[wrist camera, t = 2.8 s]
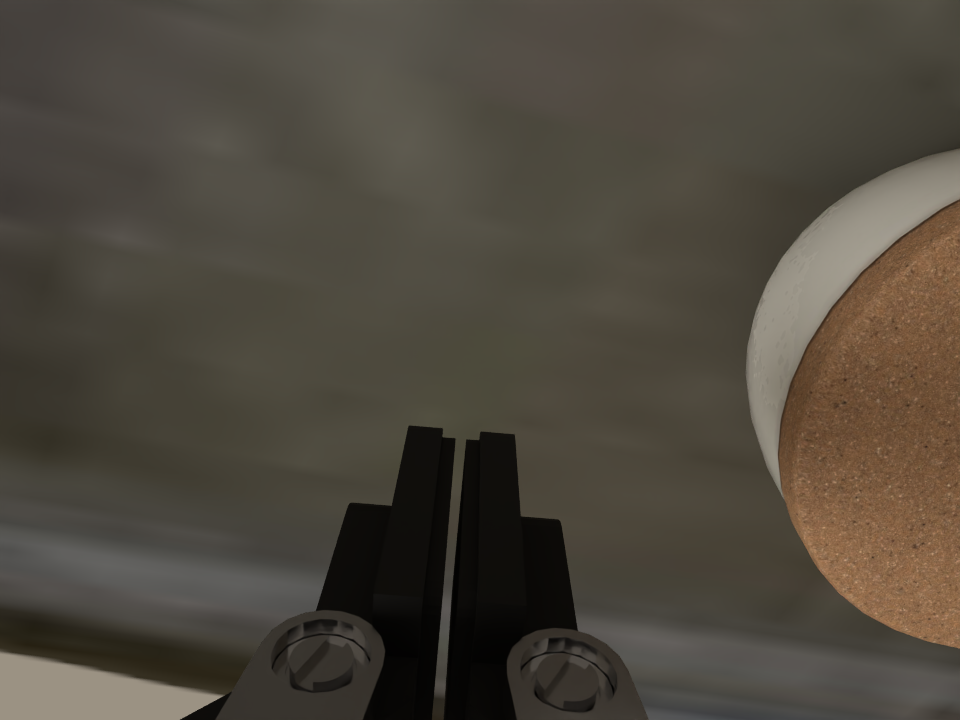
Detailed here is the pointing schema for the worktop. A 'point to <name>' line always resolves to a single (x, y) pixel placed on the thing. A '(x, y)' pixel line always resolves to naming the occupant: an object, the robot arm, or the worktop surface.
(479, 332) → the worktop surface
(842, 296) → the lidded jar
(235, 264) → the worktop surface
